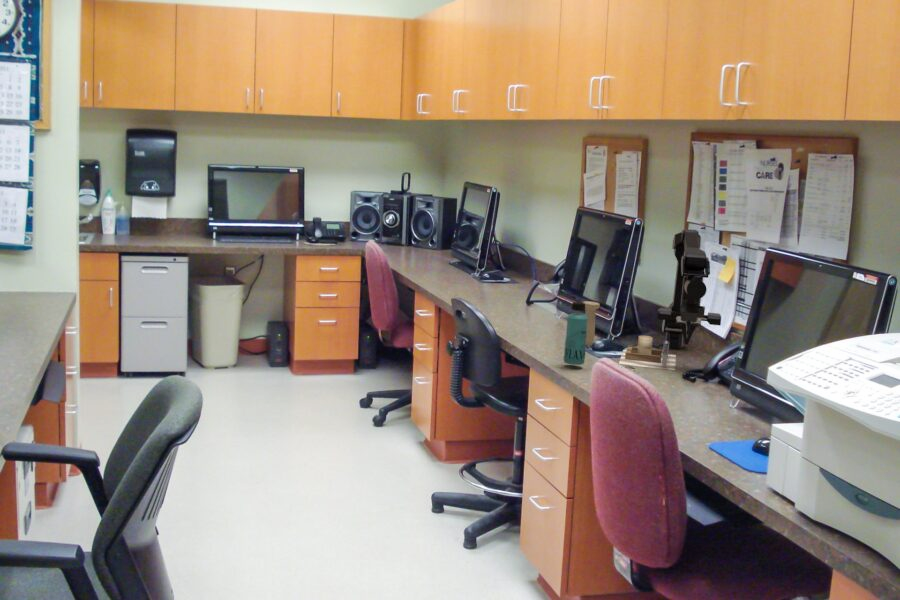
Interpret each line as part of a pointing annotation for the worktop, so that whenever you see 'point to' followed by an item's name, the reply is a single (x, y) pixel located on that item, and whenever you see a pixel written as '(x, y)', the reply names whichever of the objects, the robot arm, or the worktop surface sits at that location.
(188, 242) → the worktop surface
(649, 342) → the pivot pin
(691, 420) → the worktop surface
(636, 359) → the cradle
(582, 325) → the beverage bottle
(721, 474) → the worktop surface
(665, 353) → the bar
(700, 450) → the worktop surface
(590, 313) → the handle
